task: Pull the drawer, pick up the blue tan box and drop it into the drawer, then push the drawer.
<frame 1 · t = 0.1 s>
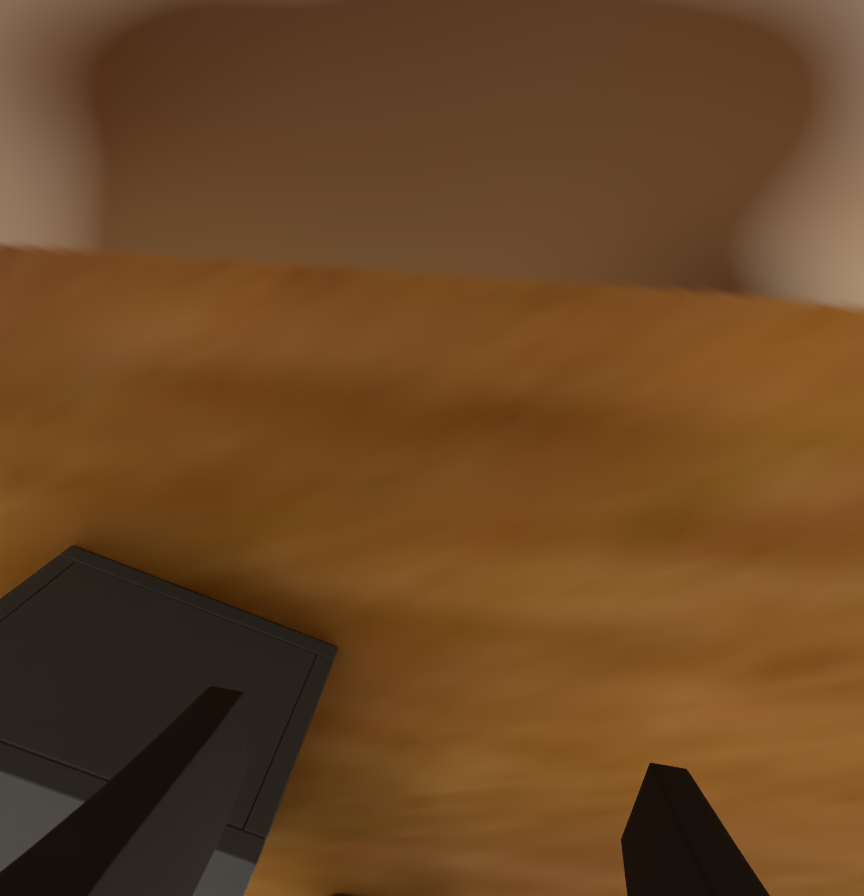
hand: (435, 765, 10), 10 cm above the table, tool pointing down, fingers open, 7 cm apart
cabinet: (177, 706, 24), on the table
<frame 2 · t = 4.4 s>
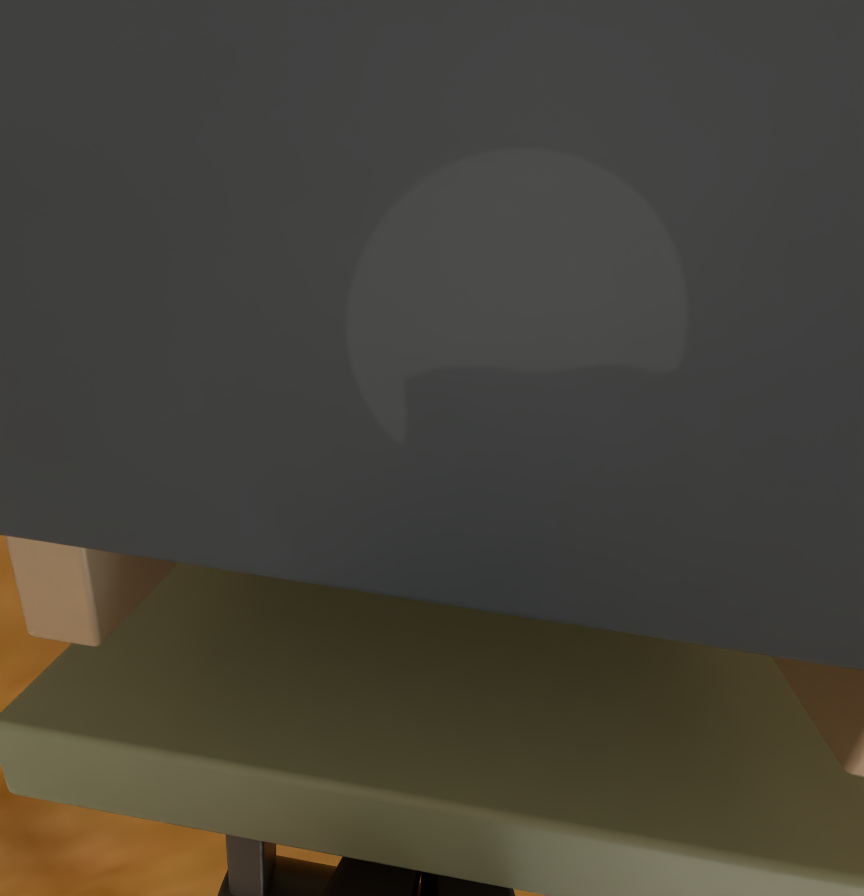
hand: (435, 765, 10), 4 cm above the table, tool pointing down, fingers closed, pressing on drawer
drawer: (482, 462, 8), point 4 cm above the table, slide at 3.2 cm, touching gripper
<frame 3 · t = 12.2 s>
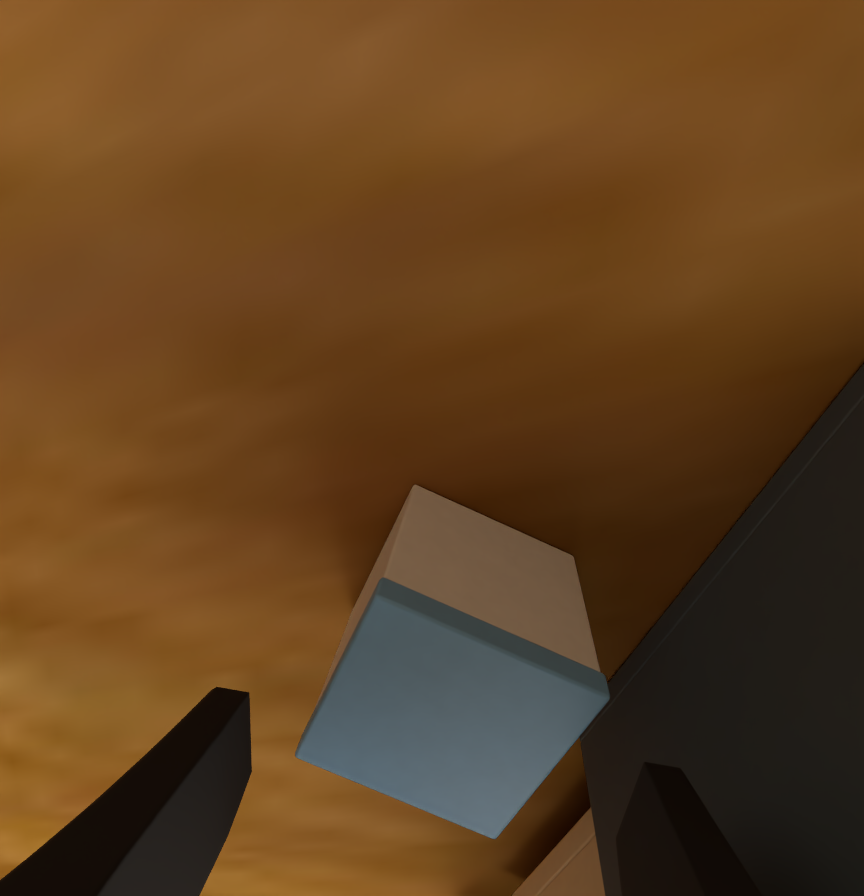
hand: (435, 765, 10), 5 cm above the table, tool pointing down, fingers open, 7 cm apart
blue tan box: (457, 584, 15), on the table
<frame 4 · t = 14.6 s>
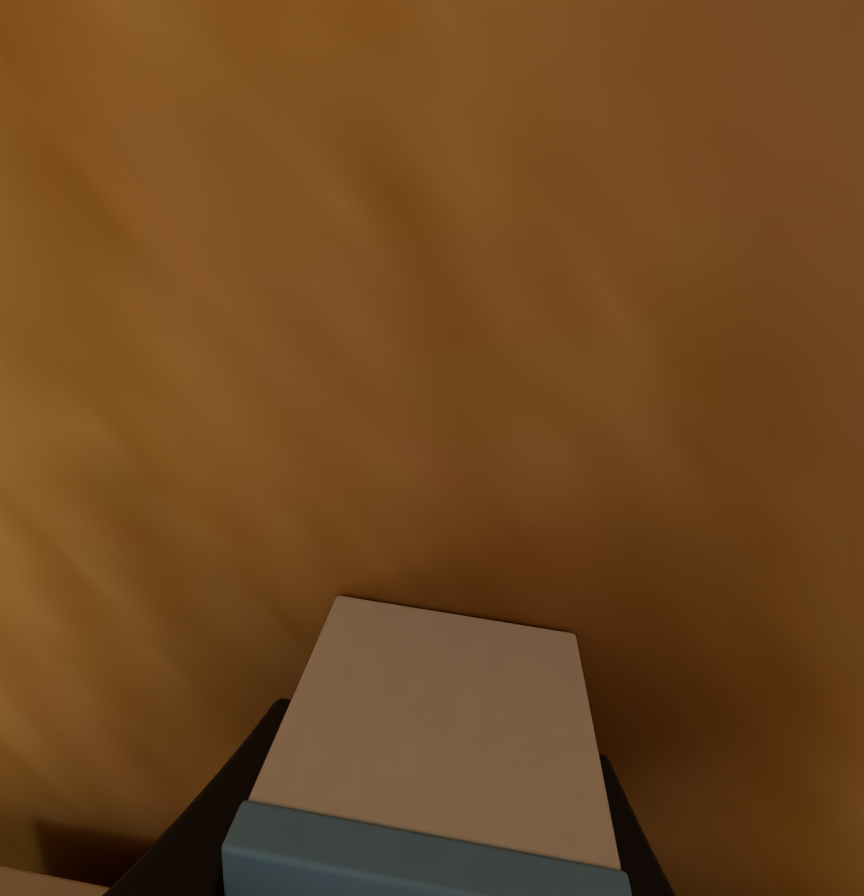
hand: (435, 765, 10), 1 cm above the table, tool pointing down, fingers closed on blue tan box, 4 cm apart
blue tan box: (441, 701, 11), on the table, touching gripper
when the fingers open (4 cm above the table, at t = 19.8 s): blue tan box drops 1 cm, resting on drawer.
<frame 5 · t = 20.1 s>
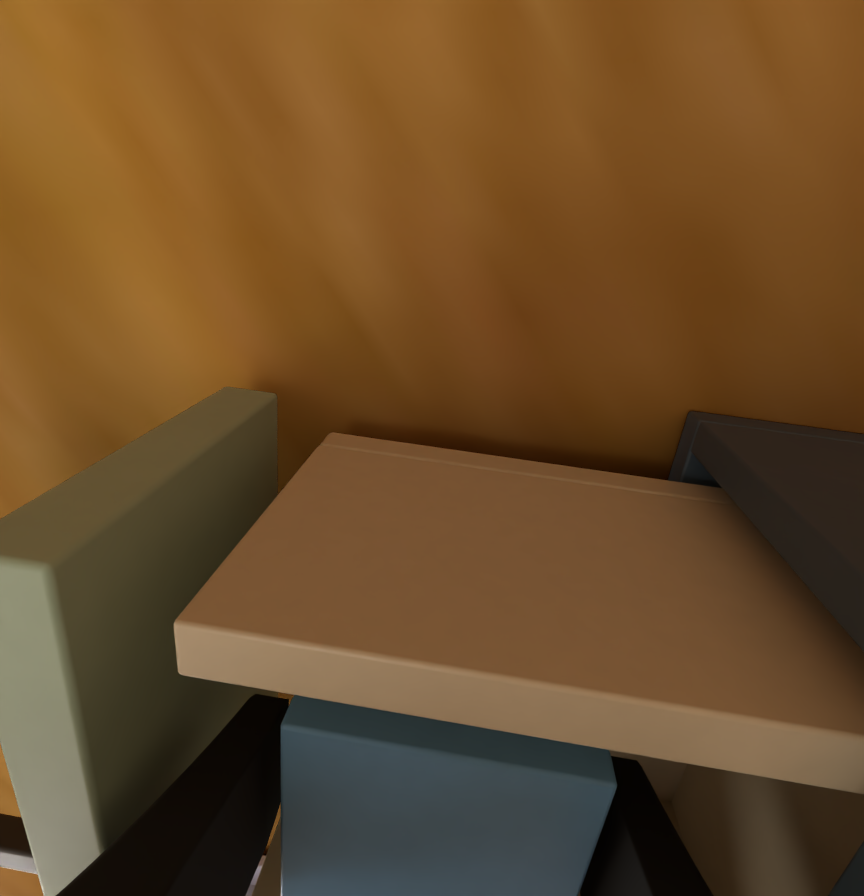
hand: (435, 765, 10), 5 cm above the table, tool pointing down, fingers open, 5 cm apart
drawer: (345, 710, 10), point 4 cm above the table, slide at 8.7 cm, touching blue tan box
blue tan box: (451, 644, 12), point 2 cm above the table, touching drawer
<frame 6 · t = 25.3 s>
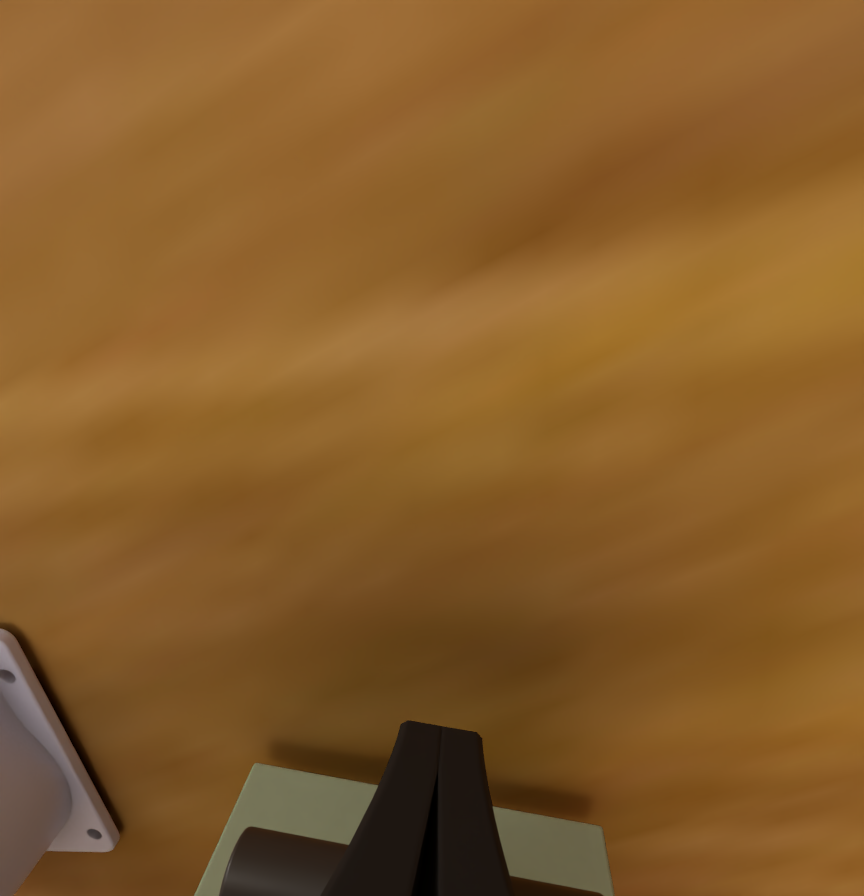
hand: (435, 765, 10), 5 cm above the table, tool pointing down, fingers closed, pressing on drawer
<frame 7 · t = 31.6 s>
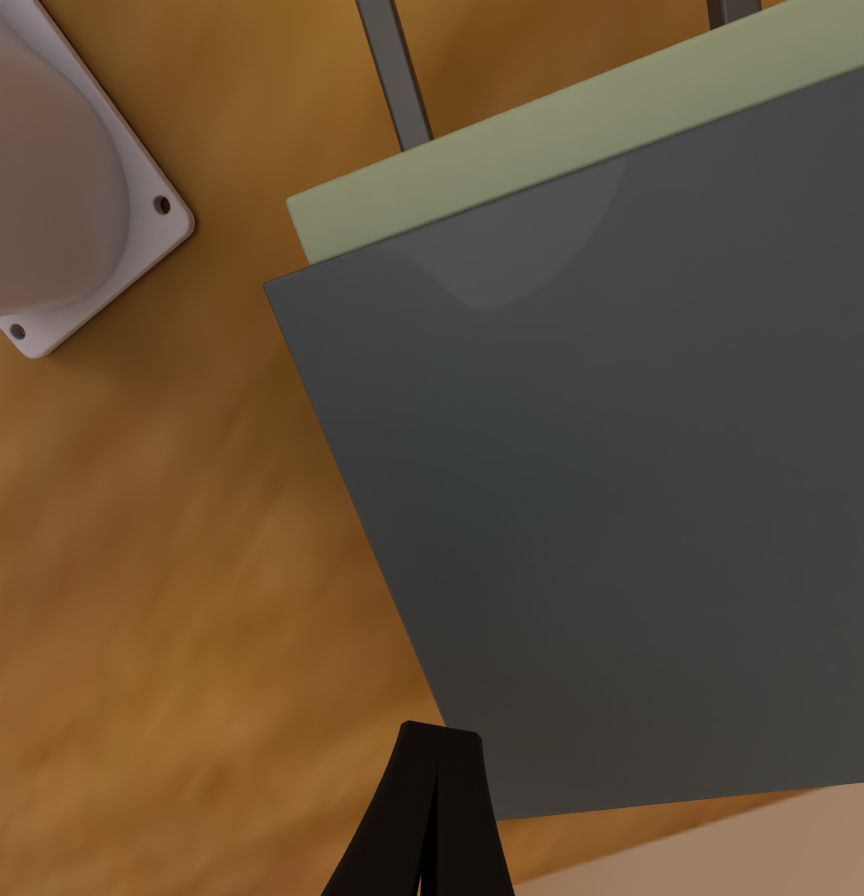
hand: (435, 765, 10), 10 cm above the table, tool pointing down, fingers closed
drawer: (597, 299, 12), point 4 cm above the table, slide at 0.0 cm, touching blue tan box
cabinet: (602, 410, 17), on the table
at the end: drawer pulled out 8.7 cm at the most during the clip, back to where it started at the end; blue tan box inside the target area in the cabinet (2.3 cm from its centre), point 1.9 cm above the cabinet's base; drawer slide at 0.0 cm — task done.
